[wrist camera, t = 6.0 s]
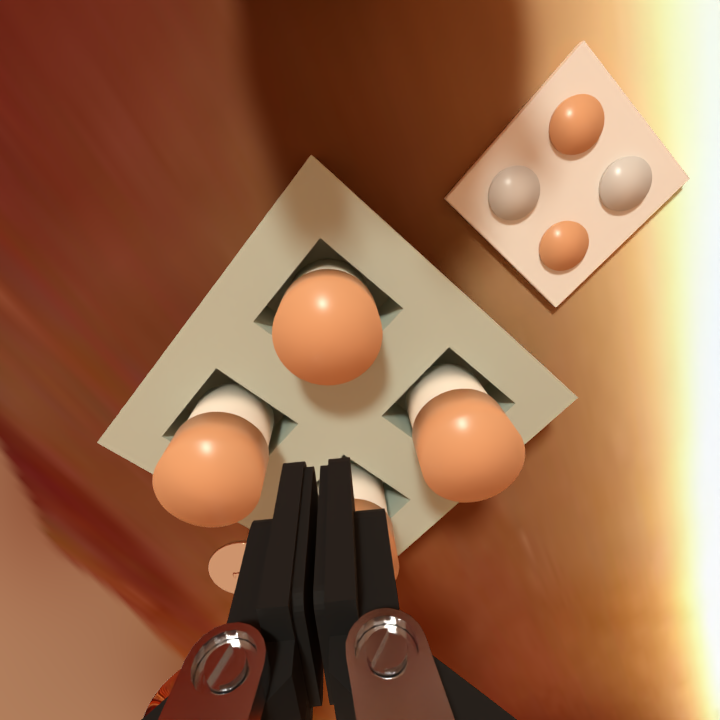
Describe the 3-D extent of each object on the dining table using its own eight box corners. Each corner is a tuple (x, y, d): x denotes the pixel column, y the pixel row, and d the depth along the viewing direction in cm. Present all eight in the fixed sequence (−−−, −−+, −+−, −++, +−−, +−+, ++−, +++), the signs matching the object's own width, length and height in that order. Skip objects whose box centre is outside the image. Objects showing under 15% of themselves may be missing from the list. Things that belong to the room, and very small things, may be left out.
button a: (501, 393, 30) (546, 453, 24) (443, 447, 32) (471, 518, 25) (443, 344, 28) (475, 395, 22) (385, 404, 30) (399, 467, 23)
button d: (293, 412, 30) (282, 479, 23) (245, 466, 31) (222, 542, 25) (223, 364, 28) (190, 421, 22) (176, 423, 30) (132, 493, 23)
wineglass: (210, 604, 41) (127, 893, 25) (187, 538, 38) (75, 821, 22) (297, 593, 41) (272, 874, 25) (281, 527, 38) (241, 799, 22)
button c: (401, 486, 33) (418, 563, 26) (353, 532, 34) (357, 615, 28) (343, 446, 31) (346, 518, 25) (295, 496, 33) (285, 576, 26)
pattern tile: (682, 178, 28) (693, 178, 28) (552, 305, 31) (558, 308, 31) (578, 43, 25) (586, 38, 24) (443, 198, 28) (447, 199, 27)
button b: (389, 293, 29) (405, 329, 22) (335, 354, 30) (335, 404, 24) (322, 237, 27) (318, 257, 21) (268, 304, 29) (249, 343, 22)
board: (544, 366, 33) (577, 397, 29) (355, 541, 39) (358, 590, 35) (315, 157, 27) (311, 154, 22) (130, 404, 33) (97, 442, 28)
